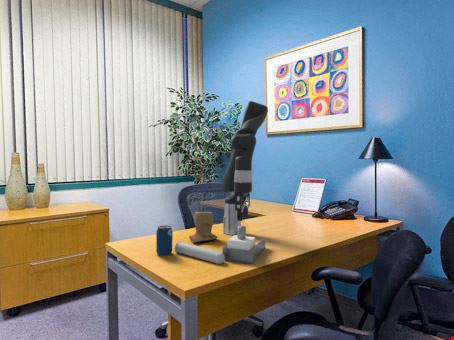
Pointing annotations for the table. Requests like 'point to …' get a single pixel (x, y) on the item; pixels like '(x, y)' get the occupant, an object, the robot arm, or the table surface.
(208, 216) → the stone cup
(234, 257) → the bay
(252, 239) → the white knobbed block
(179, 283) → the table surface
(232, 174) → the robot arm
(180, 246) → the tube
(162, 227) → the soda can
